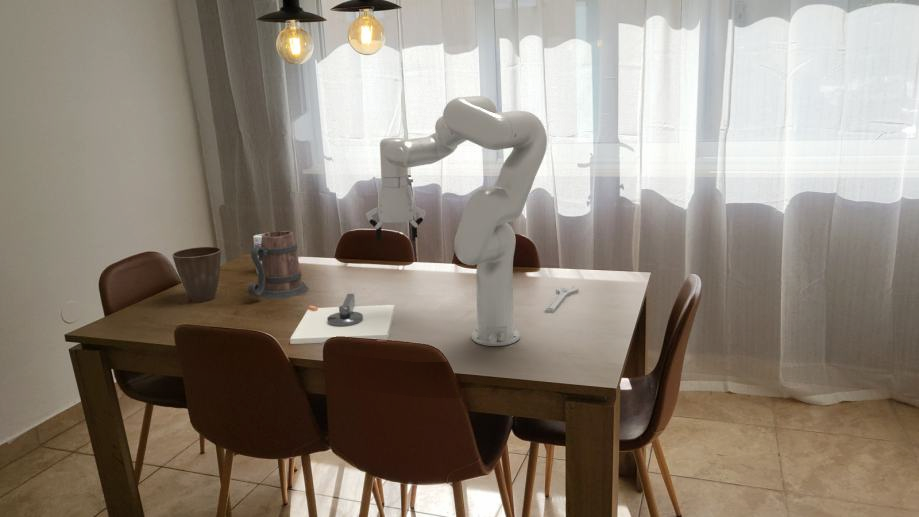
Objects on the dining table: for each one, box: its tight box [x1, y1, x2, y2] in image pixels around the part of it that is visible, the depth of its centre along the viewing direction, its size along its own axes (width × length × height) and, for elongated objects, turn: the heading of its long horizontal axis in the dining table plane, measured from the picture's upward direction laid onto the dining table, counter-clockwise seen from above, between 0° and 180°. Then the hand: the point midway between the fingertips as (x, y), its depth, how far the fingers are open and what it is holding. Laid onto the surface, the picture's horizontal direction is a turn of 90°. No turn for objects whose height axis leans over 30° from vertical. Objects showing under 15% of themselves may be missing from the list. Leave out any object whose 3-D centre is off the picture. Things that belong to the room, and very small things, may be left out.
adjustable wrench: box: [544, 285, 579, 314], centre depth 216 cm, size 25×6×2 cm, turn 152°
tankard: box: [247, 230, 310, 300], centre depth 232 cm, size 24×17×20 cm
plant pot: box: [171, 246, 222, 303], centre depth 230 cm, size 15×15×16 cm
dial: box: [327, 292, 363, 326], centre depth 204 cm, size 19×10×4 cm, turn 1°
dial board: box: [289, 304, 396, 345], centre depth 203 cm, size 30×26×2 cm
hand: (397, 240), depth 204 cm, fingers open, 9 cm apart
